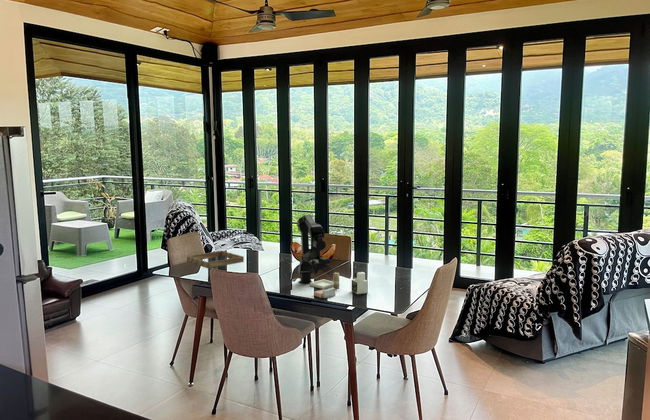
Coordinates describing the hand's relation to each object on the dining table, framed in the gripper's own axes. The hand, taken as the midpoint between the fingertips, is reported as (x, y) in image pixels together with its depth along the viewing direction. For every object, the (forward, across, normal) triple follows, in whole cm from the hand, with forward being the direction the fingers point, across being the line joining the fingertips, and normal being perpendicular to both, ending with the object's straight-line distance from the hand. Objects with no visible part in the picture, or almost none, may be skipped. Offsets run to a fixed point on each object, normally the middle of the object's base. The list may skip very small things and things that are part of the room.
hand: (315, 273), depth 286 cm
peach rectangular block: (+12, +6, -1) cm, 13 cm away
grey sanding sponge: (+11, +11, 0) cm, 15 cm away
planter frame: (+11, -108, 0) cm, 109 cm away
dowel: (+11, +2, +15) cm, 19 cm away
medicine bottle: (+11, +17, +19) cm, 28 cm away
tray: (+11, -7, +13) cm, 19 cm away
